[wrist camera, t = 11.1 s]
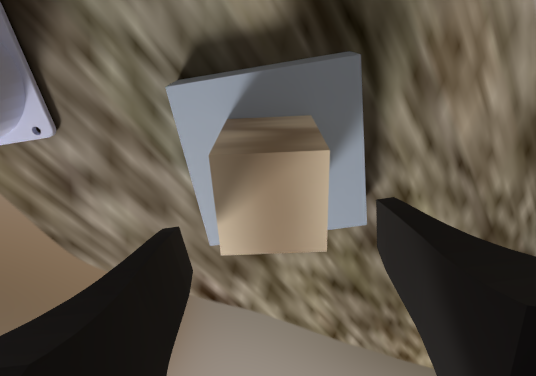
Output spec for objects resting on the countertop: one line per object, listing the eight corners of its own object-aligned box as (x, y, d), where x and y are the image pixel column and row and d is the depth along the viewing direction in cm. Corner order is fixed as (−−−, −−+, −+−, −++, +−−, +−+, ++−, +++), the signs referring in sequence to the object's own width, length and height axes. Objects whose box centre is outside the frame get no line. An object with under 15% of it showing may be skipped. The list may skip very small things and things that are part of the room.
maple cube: (234, 194, 20) (221, 255, 14) (226, 119, 18) (208, 155, 12) (310, 191, 20) (326, 251, 14) (311, 115, 18) (330, 150, 12)
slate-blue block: (216, 221, 24) (210, 245, 21) (179, 79, 20) (165, 86, 17) (355, 202, 23) (366, 224, 21) (347, 50, 19) (360, 54, 16)
